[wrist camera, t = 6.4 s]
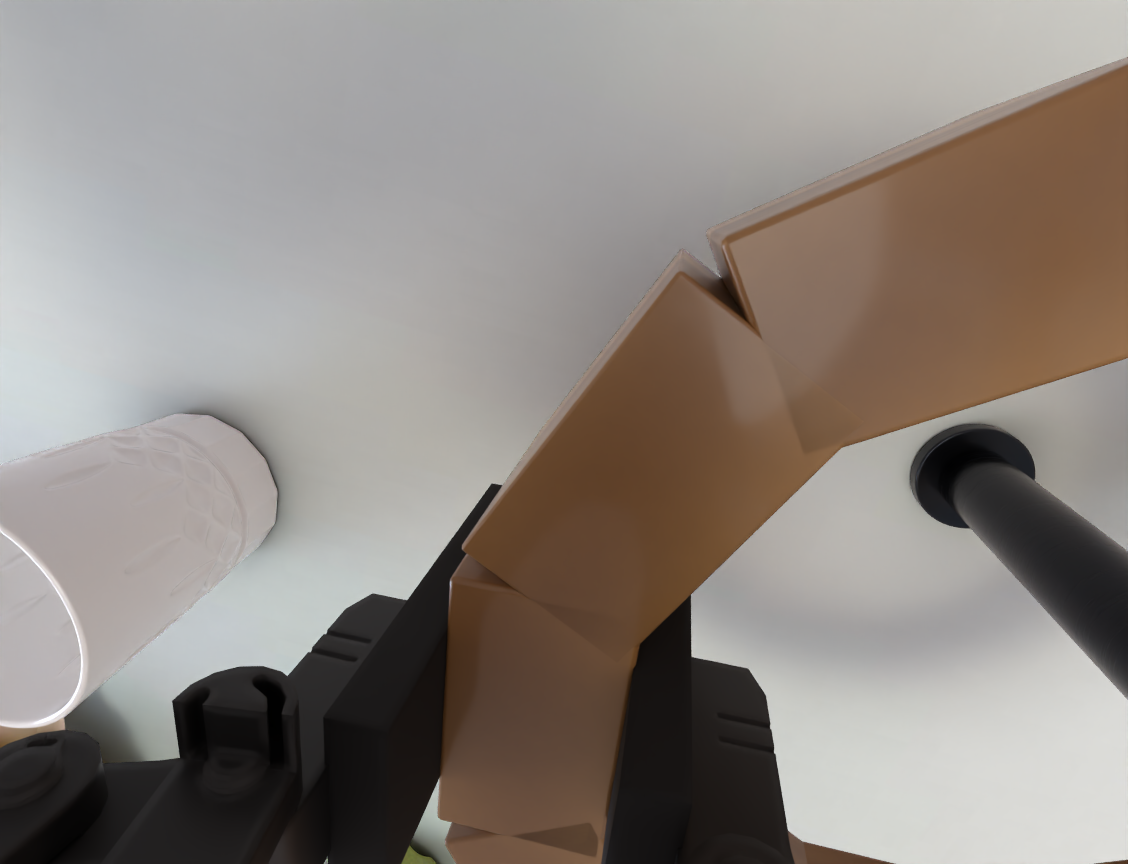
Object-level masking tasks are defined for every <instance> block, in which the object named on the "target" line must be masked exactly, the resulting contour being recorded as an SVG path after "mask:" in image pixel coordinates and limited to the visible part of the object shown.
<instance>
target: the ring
mask: <svg viewBox="0 0 1128 864" xmlns="http://www.w3.org/2000/svg"><path fill="white" fill-rule="evenodd" d="M706 237H707V239H708V242H709V245H710V248H711V250H712V253H713V256H714V259H715V262H716V264H717V267H718V270H719V273H720V275H721V278H720V277H719V276H718V275H717V274H715V273H714V272H713V271H711V270H710V269H709V268H708V267H706V266H705V265H704V264H703V263H701V262H700V261H699V260H698V259H696V258H695V257H694V256H693V255H691V254H690V253H689V252H688V251H686V250H685V249H681V250H680V251H679V252H678V253H677V255H676V256H675V257H674V259H673V260H672V261H671V262H670V264H669V265H668V266H667V268H666V269H665V270H664V271H663V273H662V274H661V275H660V277H659V278H658V279H657V280H656V282H655V283H654V284H653V286H652V287H651V288H650V289H649V291H648V292H647V293H646V295H645V296H644V297H643V299H642V300H641V301H640V302H639V304H638V305H637V306H636V308H635V309H634V310H633V311H632V313H631V314H630V315H629V317H628V318H627V319H626V320H625V322H624V323H623V324H622V326H621V327H620V328H619V329H618V331H617V332H616V333H615V335H614V336H613V337H612V338H611V340H610V341H609V342H608V344H607V345H606V346H605V347H604V349H603V350H602V351H601V353H600V354H599V355H598V356H597V358H596V359H595V360H594V362H593V363H592V364H591V365H590V367H589V368H588V369H587V371H586V372H585V373H584V374H583V376H582V377H581V378H580V380H579V381H578V382H577V383H576V385H575V386H574V387H573V389H572V390H571V391H570V392H569V394H568V395H567V396H566V398H565V399H564V400H563V401H562V403H561V404H560V405H559V407H558V408H557V409H556V410H555V412H554V413H553V414H552V416H551V417H550V418H549V419H548V421H547V422H546V423H545V425H544V426H543V427H542V429H541V430H540V432H539V433H538V434H537V436H536V437H535V439H534V440H533V442H532V443H531V445H530V446H529V448H528V449H527V451H526V452H525V453H524V455H523V456H522V458H521V459H520V461H519V462H518V464H517V465H516V467H515V468H514V470H513V471H512V473H511V474H510V475H509V477H508V478H507V480H506V481H505V483H504V484H503V486H502V487H501V489H500V490H499V492H498V493H497V494H496V496H495V497H494V499H493V500H492V502H491V503H490V505H489V506H488V508H487V509H486V511H485V512H484V514H483V515H482V516H481V518H480V519H479V521H478V522H477V524H476V525H475V527H474V528H473V530H472V531H471V533H470V534H469V535H468V537H467V538H466V540H465V541H464V543H463V544H462V550H463V551H464V552H465V553H467V554H466V555H465V557H464V558H463V560H462V562H461V563H460V565H459V566H458V568H457V569H456V571H455V572H454V574H453V575H452V577H451V579H450V590H449V608H448V631H447V650H446V669H445V687H444V706H443V725H442V744H441V763H440V777H439V796H438V818H440V819H441V820H445V821H449V822H452V823H451V826H450V828H449V831H448V834H447V836H446V839H445V846H446V847H447V849H448V851H449V852H450V854H451V856H452V857H453V859H454V861H455V862H456V864H601V861H602V853H603V846H604V838H605V831H606V823H607V816H608V811H609V805H610V799H611V794H612V788H613V782H614V777H615V771H616V765H617V760H618V754H619V748H620V743H621V737H622V731H623V726H624V720H625V714H626V709H627V703H628V697H629V691H630V686H631V680H632V674H633V669H634V667H635V666H636V663H637V658H638V652H639V646H640V644H641V643H642V642H643V641H644V640H645V639H646V638H647V637H648V636H649V635H650V634H651V633H652V632H653V631H654V630H655V629H656V628H657V627H658V626H659V625H660V624H661V623H662V622H663V621H664V620H665V619H666V618H667V617H668V616H669V615H670V614H671V613H672V612H673V611H674V610H675V609H676V608H677V607H679V606H680V605H681V604H682V603H683V602H684V601H685V600H686V599H687V598H688V597H689V596H690V595H691V594H692V593H693V592H694V591H695V590H696V589H697V588H698V587H699V586H700V585H701V584H702V583H703V582H704V581H705V580H706V579H707V578H708V577H709V576H710V575H711V574H712V573H713V572H714V571H715V570H716V569H718V568H719V567H720V566H721V565H722V564H723V563H724V562H725V561H726V560H727V559H728V558H729V557H730V556H731V555H732V554H733V553H734V552H735V551H736V550H737V549H738V548H739V547H740V546H741V545H742V544H743V543H744V542H745V541H746V540H747V539H748V538H749V537H750V536H751V535H752V534H753V533H754V532H755V531H757V530H758V529H759V528H760V527H761V526H762V525H763V524H764V523H765V522H766V521H767V520H768V519H769V518H770V517H771V516H772V515H773V514H774V513H775V512H776V511H777V510H778V509H779V508H780V507H781V506H782V505H783V504H784V503H785V502H786V501H787V500H788V499H789V498H790V497H791V496H792V495H793V494H794V493H796V492H797V491H798V490H799V489H800V488H801V487H802V486H803V485H804V484H805V483H806V482H807V481H808V480H809V479H810V478H811V477H812V476H813V475H814V474H815V473H816V472H817V471H818V470H819V469H820V468H821V467H822V466H823V465H824V464H825V463H826V462H827V461H828V460H829V459H830V458H831V457H832V456H833V455H835V454H836V453H837V452H838V451H839V450H840V449H841V448H843V447H846V446H849V445H852V444H855V443H858V442H862V441H865V440H868V439H871V438H874V437H878V436H881V435H884V434H887V433H890V432H894V431H897V430H900V429H903V428H906V427H909V426H913V425H916V424H919V423H922V422H925V421H929V420H932V419H935V418H938V417H941V416H945V415H948V414H951V413H954V412H957V411H961V410H964V409H967V408H970V407H973V406H976V405H980V404H983V403H986V402H989V401H992V400H996V399H999V398H1002V397H1005V396H1008V395H1012V394H1015V393H1018V392H1021V391H1024V390H1027V389H1031V388H1034V387H1037V386H1040V385H1043V384H1047V383H1050V382H1053V381H1056V380H1059V379H1063V378H1066V377H1069V376H1072V375H1075V374H1079V373H1082V372H1085V371H1088V370H1091V369H1094V368H1098V367H1101V366H1104V365H1107V364H1110V363H1114V362H1117V361H1120V360H1123V359H1126V358H1128V57H1126V58H1124V59H1121V60H1118V61H1115V62H1113V63H1110V64H1107V65H1104V66H1102V67H1099V68H1096V69H1093V70H1091V71H1088V72H1085V73H1082V74H1080V75H1077V76H1074V77H1071V78H1069V79H1066V80H1063V81H1060V82H1058V83H1055V84H1052V85H1049V86H1047V87H1044V88H1041V89H1038V90H1035V91H1033V92H1030V93H1027V94H1024V95H1022V96H1019V97H1016V98H1013V99H1011V100H1008V101H1005V102H1002V103H1000V104H997V105H994V106H991V107H989V108H986V109H983V110H980V111H978V112H975V113H972V114H970V115H968V116H965V117H963V118H961V119H959V120H956V121H954V122H952V123H949V124H947V125H945V126H942V127H940V128H938V129H936V130H933V131H931V132H929V133H926V134H924V135H922V136H920V137H917V138H915V139H913V140H910V141H908V142H906V143H903V144H901V145H899V146H897V147H894V148H892V149H890V150H887V151H885V152H883V153H881V154H878V155H876V156H874V157H871V158H869V159H867V160H864V161H862V162H860V163H858V164H855V165H853V166H851V167H848V168H846V169H844V170H842V171H839V172H837V173H835V174H832V175H830V176H828V177H825V178H823V179H821V180H819V181H816V182H814V183H812V184H809V185H807V186H805V187H802V188H800V189H798V190H796V191H793V192H791V193H789V194H786V195H784V196H782V197H780V198H777V199H775V200H773V201H770V202H768V203H766V204H763V205H761V206H759V207H757V208H754V209H752V210H750V211H747V212H745V213H743V214H741V215H738V216H736V217H734V218H731V219H729V220H727V221H724V222H722V223H720V224H718V225H715V226H713V227H711V228H709V229H708V230H707V231H706ZM788 835H789V842H790V848H791V852H792V855H793V859H794V862H795V864H894V863H890V862H886V861H881V860H877V859H873V858H869V857H865V856H861V855H856V854H852V853H848V852H844V851H840V850H836V849H832V848H827V847H823V846H819V845H815V844H811V843H807V842H802V841H801V840H800V839H798V838H797V837H796V836H794V835H793V834H792V833H790V832H789V831H788ZM1096 864H1128V860H1121V861H1113V862H1104V863H1096Z"/></svg>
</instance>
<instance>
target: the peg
mask: <svg viewBox="0 0 1128 864" xmlns="http://www.w3.org/2000/svg"><path fill="white" fill-rule="evenodd" d="M910 480H911V487H912V491H913V494H914V496H915V498H916V500H917V501H918V503H919V504H920V505H921V506H922V507H923V509H924V510H925V511H926V512H927V513H928V514H929V515H930V516H931V517H933V518H934V519H936V520H937V521H939V522H941V523H943V524H946V525H949V526H953V527H958V528H971V529H972V530H973V531H974V532H975V534H976V535H977V536H978V537H979V538H980V539H981V540H982V541H983V542H984V543H985V544H986V546H987V547H988V548H989V549H990V550H991V551H992V552H993V553H994V554H995V555H996V556H997V558H998V559H999V560H1000V561H1001V562H1002V563H1003V564H1004V565H1005V566H1006V567H1007V568H1008V570H1009V571H1010V572H1011V573H1012V574H1013V575H1014V576H1015V577H1016V578H1017V579H1018V580H1019V582H1020V583H1021V584H1022V585H1023V586H1024V587H1025V588H1026V589H1027V590H1028V591H1029V592H1030V594H1031V595H1032V596H1033V597H1034V598H1035V599H1036V600H1037V601H1038V602H1039V603H1040V604H1041V606H1042V607H1043V608H1044V609H1045V610H1046V611H1047V612H1048V613H1049V614H1050V615H1051V616H1052V618H1053V619H1054V620H1055V621H1056V622H1057V623H1058V624H1059V625H1060V626H1061V627H1062V628H1063V630H1064V631H1065V632H1066V633H1067V634H1068V635H1069V636H1070V637H1071V638H1072V639H1073V640H1074V642H1075V643H1076V644H1077V645H1078V646H1079V647H1080V648H1081V649H1082V650H1083V651H1084V653H1085V654H1086V655H1087V656H1088V657H1089V658H1090V659H1091V660H1092V661H1093V662H1094V663H1095V665H1096V666H1097V667H1098V668H1099V669H1100V670H1101V671H1102V672H1103V673H1104V674H1105V675H1106V677H1107V678H1108V679H1109V680H1110V681H1111V682H1112V683H1113V684H1114V685H1115V686H1116V687H1117V689H1118V690H1119V691H1120V692H1121V693H1122V694H1123V695H1124V696H1125V697H1126V698H1127V699H1128V551H1127V550H1125V549H1124V548H1123V547H1121V546H1120V545H1119V544H1117V543H1116V542H1115V541H1114V540H1112V539H1111V538H1110V537H1108V536H1107V535H1106V534H1104V533H1103V532H1102V531H1100V530H1099V529H1098V528H1096V527H1095V526H1094V525H1092V524H1091V523H1090V522H1088V521H1087V520H1086V519H1084V518H1083V517H1082V516H1080V515H1079V514H1078V513H1076V512H1075V511H1074V510H1072V509H1071V508H1070V507H1068V506H1067V505H1066V504H1064V503H1063V502H1062V501H1060V500H1059V499H1058V498H1056V497H1055V496H1054V495H1052V494H1051V493H1050V492H1048V491H1047V490H1046V489H1044V488H1043V487H1042V486H1040V485H1039V484H1038V483H1036V482H1035V466H1034V462H1033V459H1032V456H1031V454H1030V452H1029V451H1028V449H1027V448H1026V447H1025V446H1024V444H1022V443H1021V442H1020V441H1019V440H1018V439H1016V438H1015V437H1013V436H1012V435H1010V434H1009V433H1007V432H1006V431H1004V430H1002V429H1000V428H997V427H994V426H989V425H983V424H968V425H961V426H957V427H953V428H951V429H948V430H946V431H944V432H942V433H940V434H938V435H936V436H935V437H933V438H932V439H931V440H930V441H928V442H927V443H926V444H925V445H924V446H923V448H922V449H921V450H920V452H919V453H918V455H917V456H916V458H915V460H914V463H913V465H912V469H911V477H910Z"/></svg>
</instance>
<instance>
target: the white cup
mask: <svg viewBox="0 0 1128 864" xmlns="http://www.w3.org/2000/svg"><path fill="white" fill-rule="evenodd" d="M277 495H278V492H277V489H276V486H275V483H274V481H273V478H272V475H271V473H270V470H269V467H268V465H267V462H266V460H265V458H264V457H263V456H262V455H261V454H260V453H259V451H258V450H257V449H256V448H255V447H254V446H253V445H252V443H251V442H250V441H249V440H248V439H247V438H246V437H245V436H244V434H243V433H242V432H240V431H239V430H237V429H235V428H233V427H231V426H229V425H227V424H225V423H223V422H221V421H220V420H218V419H216V418H214V417H212V416H210V415H197V414H180V413H177V414H173V415H170V416H167V417H163V418H160V419H157V420H154V421H151V422H148V423H145V424H142V425H139V426H136V427H133V428H129V429H123V430H118V431H113V432H108V433H103V434H100V435H97V436H93V437H90V438H87V439H84V440H81V441H78V442H74V443H69V444H65V445H62V446H58V447H54V448H51V449H47V450H44V451H41V452H38V453H34V454H31V455H28V456H25V457H22V458H18V459H15V460H12V461H9V462H5V463H2V464H0V726H4V727H10V728H37V727H42V726H46V725H49V724H52V723H54V722H57V721H58V720H60V719H62V718H64V717H65V716H66V715H68V714H69V713H70V712H71V711H72V710H74V709H75V708H76V707H77V706H78V705H79V704H81V703H82V702H83V701H84V700H85V699H86V698H87V697H89V696H90V695H91V694H92V693H93V692H94V691H96V690H97V689H98V688H99V687H100V686H101V685H103V684H104V683H105V682H106V681H107V680H108V679H110V678H111V677H112V676H113V675H114V674H115V673H117V672H118V671H119V670H120V669H121V668H122V667H124V666H125V665H126V664H127V663H128V662H129V661H131V660H132V659H133V658H134V657H135V656H136V655H138V654H139V653H140V652H141V651H142V650H143V649H145V648H146V647H147V646H148V645H149V644H151V643H152V642H153V641H154V640H155V639H156V638H158V637H159V636H160V635H161V634H162V633H163V632H165V631H166V630H167V629H168V628H169V627H171V626H172V625H173V624H174V623H175V622H176V621H177V620H179V619H180V618H181V617H182V616H183V615H184V614H185V613H186V612H187V611H188V610H189V609H190V608H192V607H193V606H194V605H195V604H196V603H197V602H198V601H199V600H200V599H201V598H202V597H203V596H205V595H206V594H207V593H209V592H210V591H211V590H212V589H213V588H214V587H215V586H216V585H217V584H218V583H219V582H220V581H222V580H223V579H224V578H225V576H226V575H227V574H228V573H229V572H230V571H231V570H232V569H233V568H234V567H235V566H236V565H238V564H239V563H240V562H241V561H242V560H244V559H245V558H246V557H247V556H248V555H250V554H251V553H252V552H253V551H254V550H256V549H257V548H258V547H259V546H260V545H261V543H262V542H263V540H264V539H265V537H266V536H267V535H268V533H269V532H270V530H271V529H272V527H273V526H274V524H275V522H276V510H277Z"/></svg>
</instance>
